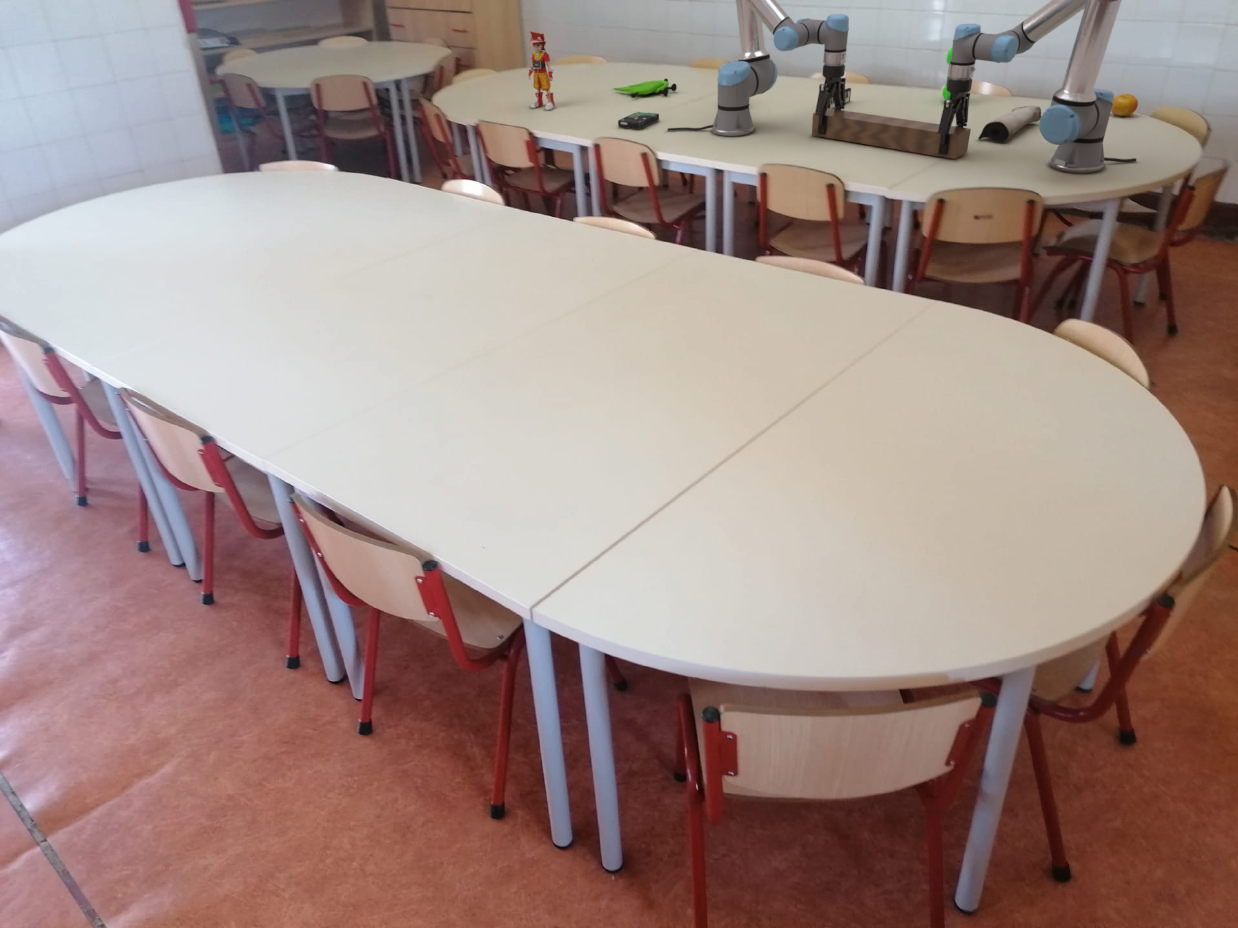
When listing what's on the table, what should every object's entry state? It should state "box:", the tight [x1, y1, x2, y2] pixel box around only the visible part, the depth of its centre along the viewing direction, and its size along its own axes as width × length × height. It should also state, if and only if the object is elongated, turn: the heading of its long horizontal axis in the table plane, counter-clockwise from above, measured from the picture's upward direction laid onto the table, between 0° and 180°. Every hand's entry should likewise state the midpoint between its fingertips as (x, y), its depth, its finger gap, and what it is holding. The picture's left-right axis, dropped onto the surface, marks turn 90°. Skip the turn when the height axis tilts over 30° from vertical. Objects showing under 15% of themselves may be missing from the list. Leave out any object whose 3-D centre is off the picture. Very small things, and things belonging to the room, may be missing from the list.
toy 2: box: [612, 78, 677, 99], centre depth 396 cm, size 28×5×30 cm
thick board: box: [811, 108, 972, 160], centre depth 309 cm, size 55×9×8 cm, turn 47°
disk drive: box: [617, 111, 660, 130], centre depth 351 cm, size 10×3×15 cm
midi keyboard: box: [828, 87, 852, 109], centre depth 358 cm, size 18×1×5 cm, turn 138°
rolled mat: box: [977, 105, 1042, 144], centre depth 315 cm, size 30×9×10 cm
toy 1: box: [527, 31, 556, 111], centre depth 374 cm, size 12×9×30 cm
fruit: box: [1111, 93, 1139, 117], centre depth 325 cm, size 8×9×8 cm
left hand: (828, 131), depth 324 cm, fingers open, 9 cm apart
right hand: (949, 150), depth 298 cm, fingers open, 9 cm apart
